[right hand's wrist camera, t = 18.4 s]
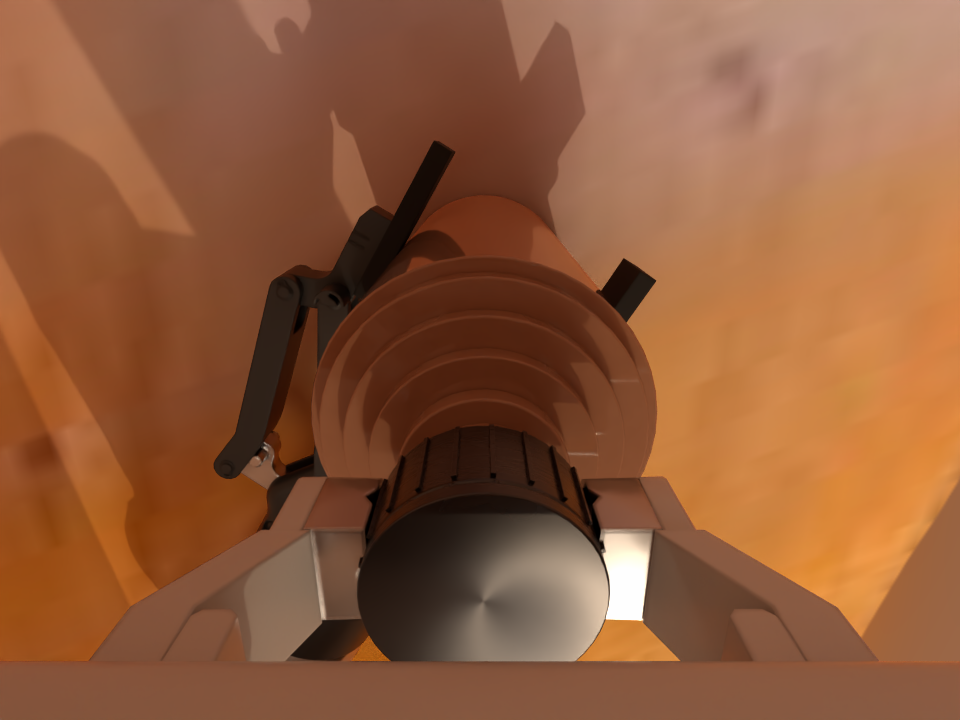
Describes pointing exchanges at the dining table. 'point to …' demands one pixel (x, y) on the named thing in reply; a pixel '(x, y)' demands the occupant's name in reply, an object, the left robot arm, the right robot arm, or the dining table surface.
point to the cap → (483, 553)
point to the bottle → (484, 351)
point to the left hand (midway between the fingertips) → (545, 210)
